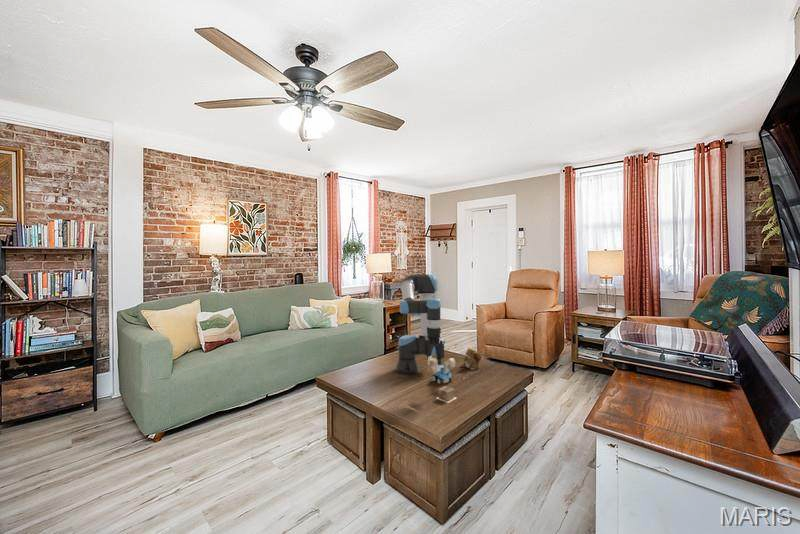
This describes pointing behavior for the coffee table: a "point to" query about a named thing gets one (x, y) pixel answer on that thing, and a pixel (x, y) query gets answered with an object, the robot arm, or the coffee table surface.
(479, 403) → the coffee table surface
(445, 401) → the pad
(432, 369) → the maple block
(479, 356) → the stuffed squirrel
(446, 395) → the walnut block
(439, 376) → the toy excavator
